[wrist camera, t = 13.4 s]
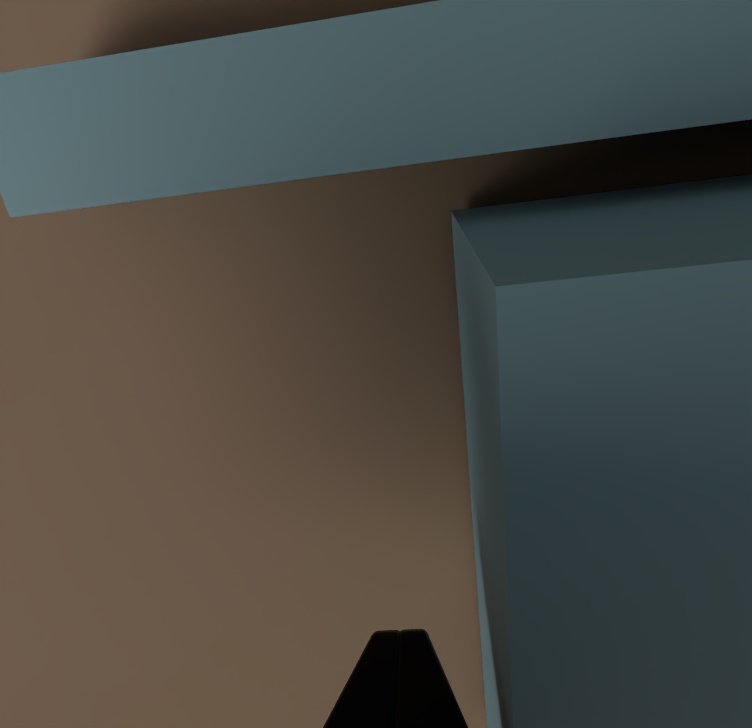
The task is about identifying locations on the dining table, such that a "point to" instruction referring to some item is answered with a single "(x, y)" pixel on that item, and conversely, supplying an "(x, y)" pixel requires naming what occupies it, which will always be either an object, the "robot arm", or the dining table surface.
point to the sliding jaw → (611, 454)
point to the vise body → (367, 95)
